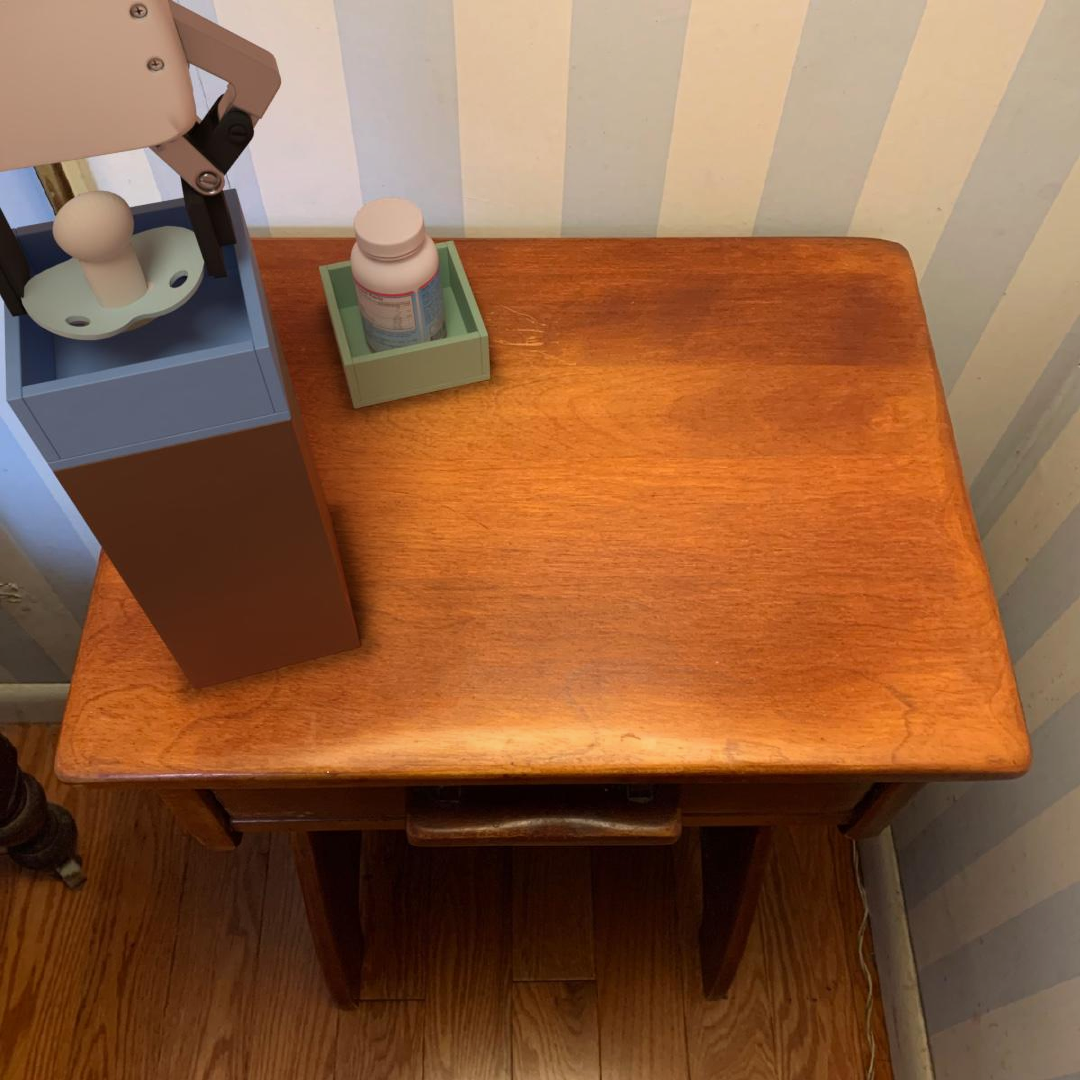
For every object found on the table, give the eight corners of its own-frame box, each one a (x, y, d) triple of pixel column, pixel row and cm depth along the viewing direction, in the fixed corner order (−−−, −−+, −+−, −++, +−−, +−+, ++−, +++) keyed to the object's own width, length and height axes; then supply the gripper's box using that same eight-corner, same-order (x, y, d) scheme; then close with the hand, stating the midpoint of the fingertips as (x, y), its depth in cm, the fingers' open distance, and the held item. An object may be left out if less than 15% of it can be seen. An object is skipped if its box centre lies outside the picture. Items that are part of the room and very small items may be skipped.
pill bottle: (418, 299, 79) (403, 177, 70) (462, 346, 77) (453, 226, 67) (350, 333, 77) (325, 212, 68) (393, 382, 75) (373, 263, 65)
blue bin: (194, 690, 62) (5, 400, 40) (176, 552, 67) (1, 229, 45) (360, 647, 64) (269, 346, 41) (331, 516, 69) (235, 187, 47)
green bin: (354, 409, 74) (344, 365, 70) (328, 311, 79) (318, 266, 75) (490, 379, 76) (488, 335, 72) (456, 285, 81) (453, 239, 77)
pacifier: (14, 296, 44) (66, 380, 41) (-56, 169, 39) (-2, 254, 36) (174, 231, 46) (233, 306, 43) (128, 103, 41) (192, 179, 38)
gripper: (214, -311, 31) (313, 181, 46) (-428, -252, 28) (-100, 253, 43) (248, -205, 27) (345, 295, 42) (-492, -124, 24) (-107, 383, 39)
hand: (119, 271), depth 42 cm, fingers closed on pacifier, 7 cm apart
